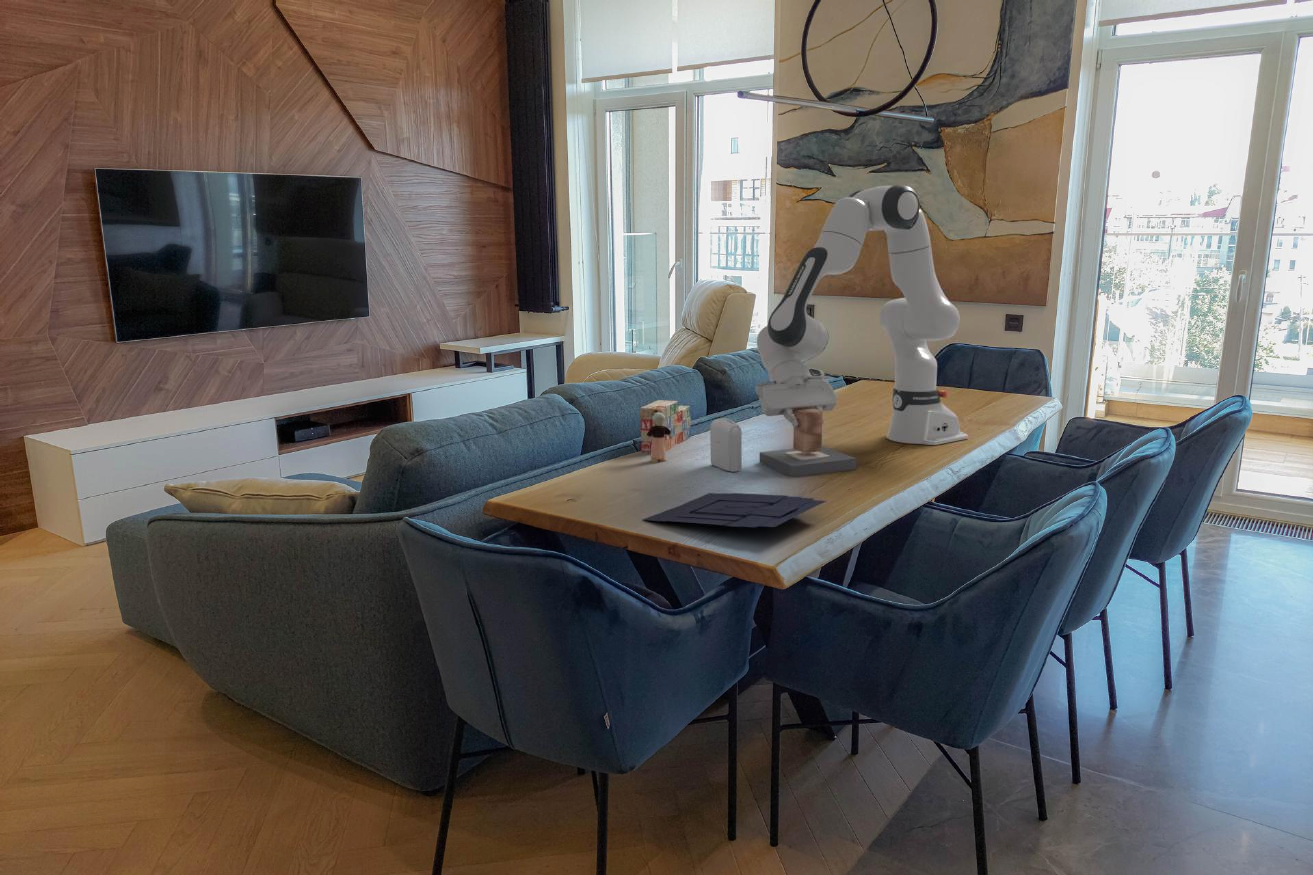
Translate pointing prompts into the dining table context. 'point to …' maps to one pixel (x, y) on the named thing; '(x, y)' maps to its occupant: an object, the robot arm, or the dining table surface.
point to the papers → (738, 509)
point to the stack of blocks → (666, 422)
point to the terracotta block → (808, 430)
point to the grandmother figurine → (658, 438)
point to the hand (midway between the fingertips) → (809, 425)
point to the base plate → (807, 461)
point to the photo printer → (726, 445)
